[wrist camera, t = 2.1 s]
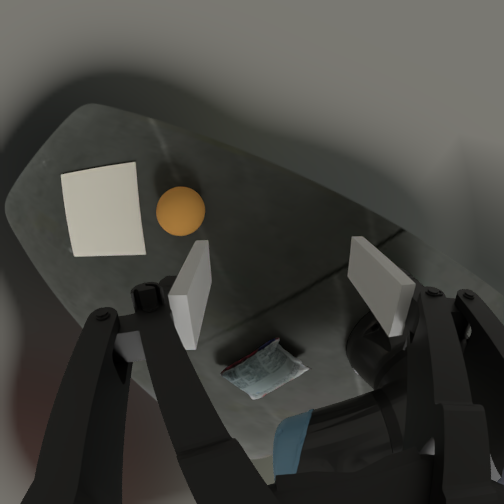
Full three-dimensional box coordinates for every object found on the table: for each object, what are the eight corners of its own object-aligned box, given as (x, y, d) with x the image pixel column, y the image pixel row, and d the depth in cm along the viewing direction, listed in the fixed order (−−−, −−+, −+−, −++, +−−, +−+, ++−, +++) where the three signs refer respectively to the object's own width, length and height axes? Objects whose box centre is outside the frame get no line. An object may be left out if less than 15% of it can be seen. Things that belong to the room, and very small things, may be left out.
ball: (206, 182, 32) (199, 188, 27) (209, 227, 34) (202, 241, 29) (162, 185, 32) (147, 192, 27) (166, 228, 34) (153, 243, 29)
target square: (135, 161, 31) (135, 161, 31) (146, 253, 35) (145, 254, 35) (61, 174, 31) (60, 174, 31) (74, 256, 35) (74, 256, 35)
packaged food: (309, 358, 42) (314, 379, 38) (252, 391, 45) (252, 412, 40) (276, 326, 40) (279, 348, 35) (217, 364, 42) (214, 386, 38)
